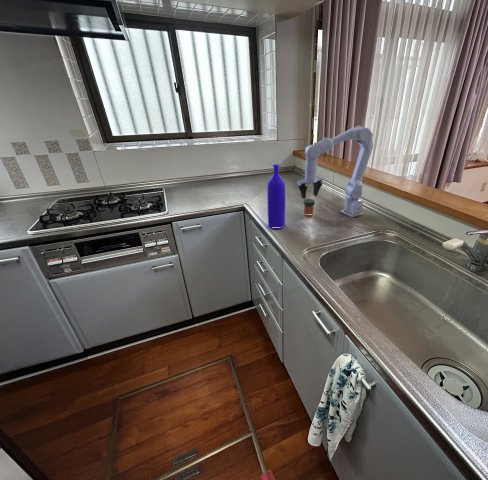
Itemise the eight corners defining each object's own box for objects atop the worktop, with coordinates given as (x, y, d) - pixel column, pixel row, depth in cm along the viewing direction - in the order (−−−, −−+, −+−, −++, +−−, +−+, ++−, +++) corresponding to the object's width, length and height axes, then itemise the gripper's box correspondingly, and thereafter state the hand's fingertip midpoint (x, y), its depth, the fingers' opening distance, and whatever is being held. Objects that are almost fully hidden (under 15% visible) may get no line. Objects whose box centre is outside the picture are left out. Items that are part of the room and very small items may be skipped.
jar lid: (301, 203, 141) (301, 200, 140) (310, 201, 144) (310, 198, 143) (307, 206, 137) (307, 203, 136) (316, 204, 140) (317, 201, 139)
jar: (315, 215, 144) (316, 201, 140) (309, 218, 140) (309, 204, 137) (307, 212, 147) (308, 199, 143) (301, 215, 144) (302, 201, 140)
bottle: (275, 221, 136) (275, 161, 122) (288, 226, 132) (289, 164, 117) (264, 226, 131) (262, 165, 116) (277, 231, 126) (276, 168, 111)
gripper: (303, 174, 126) (302, 201, 132) (327, 170, 132) (325, 196, 139) (295, 171, 131) (294, 197, 137) (318, 167, 138) (316, 192, 144)
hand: (309, 196), depth 139 cm, fingers open, 7 cm apart
